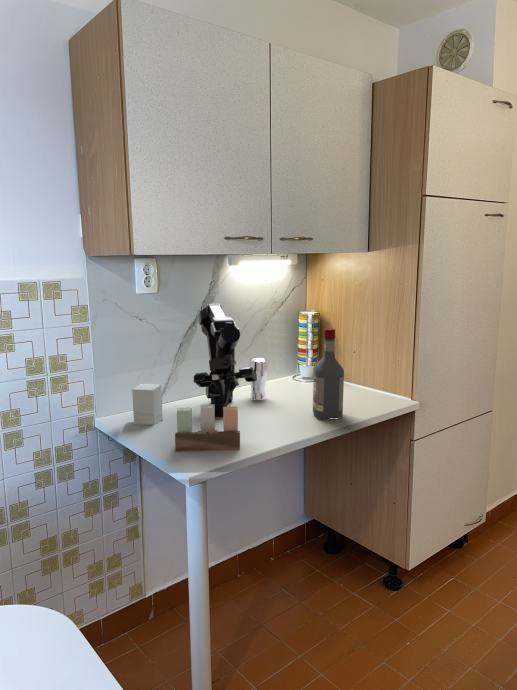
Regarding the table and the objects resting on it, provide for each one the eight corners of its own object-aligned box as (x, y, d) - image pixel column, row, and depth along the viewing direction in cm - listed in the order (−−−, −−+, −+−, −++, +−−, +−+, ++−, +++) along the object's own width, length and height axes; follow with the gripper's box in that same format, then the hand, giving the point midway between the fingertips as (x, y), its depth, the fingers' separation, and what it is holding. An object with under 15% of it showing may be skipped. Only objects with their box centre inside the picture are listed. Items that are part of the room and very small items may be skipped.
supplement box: (163, 421, 178) (162, 384, 176) (154, 428, 171) (153, 390, 169) (142, 419, 180) (141, 382, 177) (133, 426, 173) (131, 388, 170)
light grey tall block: (201, 440, 158) (200, 404, 155) (214, 440, 158) (214, 404, 156) (201, 444, 155) (200, 407, 153) (215, 444, 155) (214, 407, 153)
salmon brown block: (223, 443, 156) (223, 406, 154) (237, 442, 156) (237, 406, 154) (223, 446, 153) (223, 409, 151) (237, 446, 153) (237, 409, 151)
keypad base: (177, 443, 158) (176, 423, 157) (238, 442, 160) (238, 421, 158) (175, 455, 150) (174, 433, 149) (240, 453, 151) (240, 431, 150)
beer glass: (261, 395, 209) (261, 357, 206) (270, 399, 203) (271, 360, 200) (245, 397, 205) (245, 359, 202) (254, 402, 199) (254, 362, 196)
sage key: (178, 444, 155) (177, 407, 153) (192, 443, 155) (191, 407, 153) (177, 448, 152) (176, 410, 150) (192, 447, 152) (191, 410, 150)
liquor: (336, 411, 189) (339, 326, 184) (344, 419, 180) (347, 331, 175) (311, 411, 188) (313, 327, 182) (317, 420, 179) (319, 331, 174)
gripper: (187, 349, 162) (184, 399, 156) (246, 341, 157) (246, 392, 151) (201, 363, 172) (199, 410, 166) (257, 356, 167) (257, 404, 161)
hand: (224, 404), depth 160 cm, fingers closed
